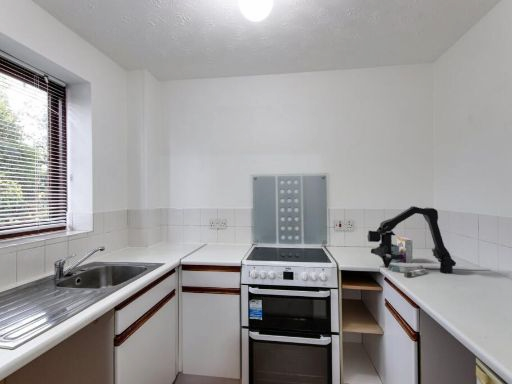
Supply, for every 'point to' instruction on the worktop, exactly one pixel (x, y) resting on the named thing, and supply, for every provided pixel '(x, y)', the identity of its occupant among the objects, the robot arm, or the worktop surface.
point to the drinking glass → (395, 250)
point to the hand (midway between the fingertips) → (386, 267)
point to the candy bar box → (405, 249)
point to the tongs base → (414, 272)
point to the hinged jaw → (402, 269)
